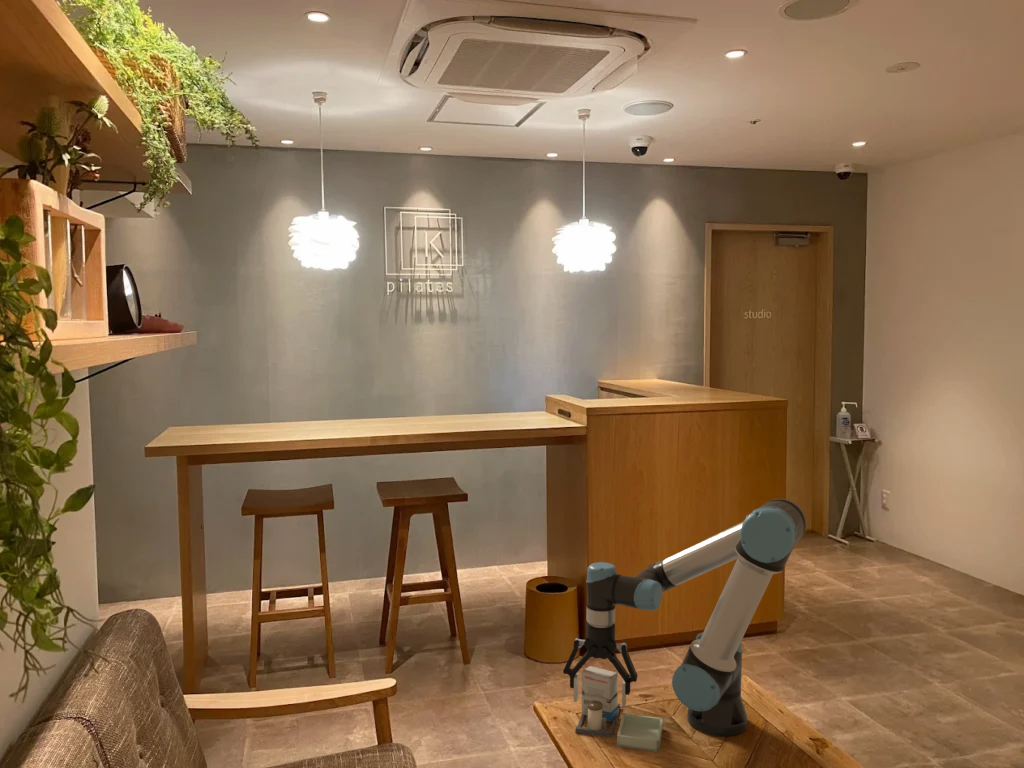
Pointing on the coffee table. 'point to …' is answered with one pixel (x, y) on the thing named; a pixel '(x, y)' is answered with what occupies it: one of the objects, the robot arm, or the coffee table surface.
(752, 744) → the coffee table surface
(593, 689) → the ink box
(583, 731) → the rail
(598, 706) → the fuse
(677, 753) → the coffee table surface
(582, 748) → the coffee table surface
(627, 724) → the tray
